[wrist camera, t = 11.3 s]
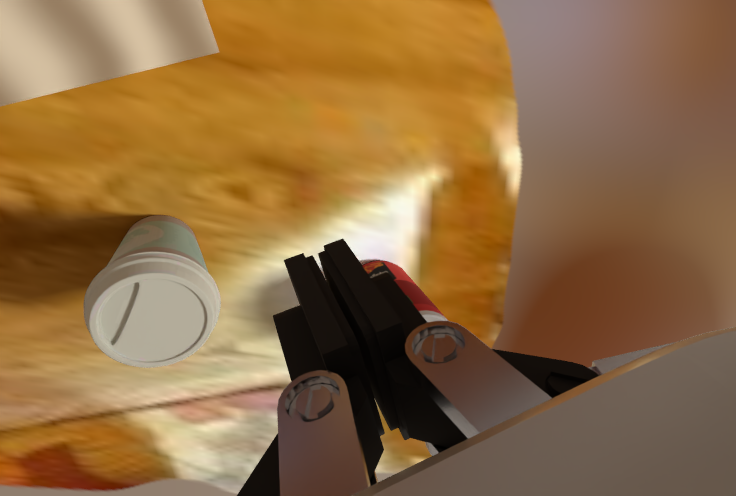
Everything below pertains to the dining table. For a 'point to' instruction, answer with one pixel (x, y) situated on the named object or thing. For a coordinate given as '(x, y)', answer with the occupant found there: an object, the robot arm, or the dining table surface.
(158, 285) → the coffee cup
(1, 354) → the dining table surface
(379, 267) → the canned food
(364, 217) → the dining table surface
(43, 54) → the birch plate
